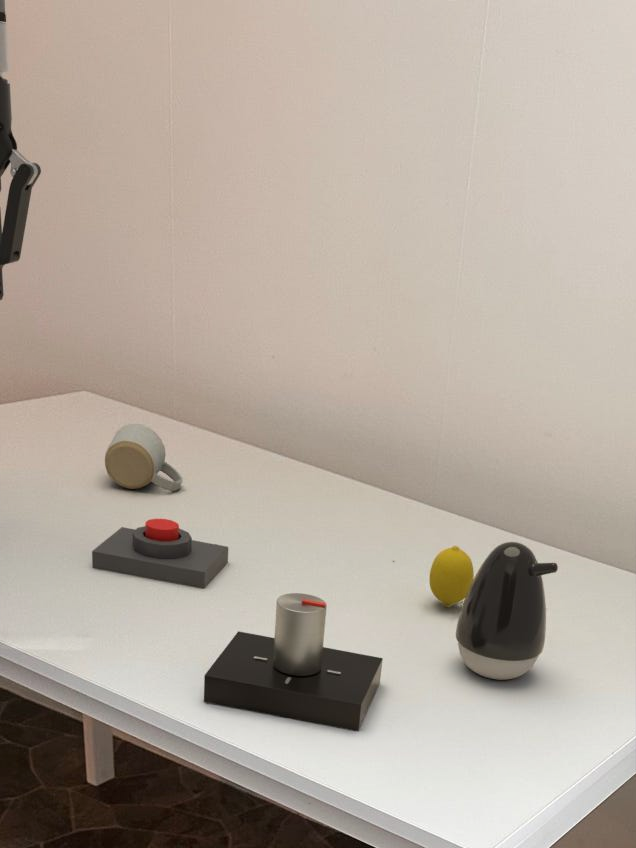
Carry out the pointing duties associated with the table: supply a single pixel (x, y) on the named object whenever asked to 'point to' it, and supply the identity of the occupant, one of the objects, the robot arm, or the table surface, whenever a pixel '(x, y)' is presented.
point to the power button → (162, 530)
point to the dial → (299, 634)
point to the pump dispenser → (504, 613)
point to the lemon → (451, 575)
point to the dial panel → (293, 683)
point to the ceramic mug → (139, 459)
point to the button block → (161, 557)
